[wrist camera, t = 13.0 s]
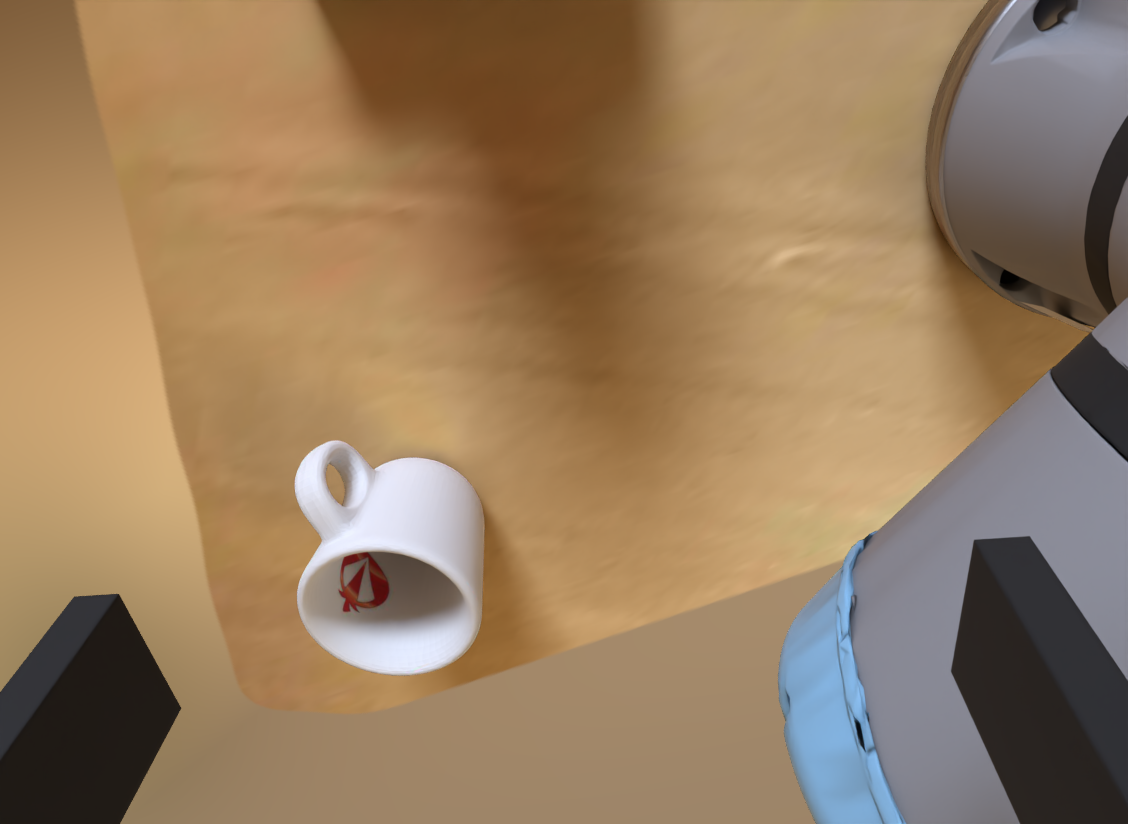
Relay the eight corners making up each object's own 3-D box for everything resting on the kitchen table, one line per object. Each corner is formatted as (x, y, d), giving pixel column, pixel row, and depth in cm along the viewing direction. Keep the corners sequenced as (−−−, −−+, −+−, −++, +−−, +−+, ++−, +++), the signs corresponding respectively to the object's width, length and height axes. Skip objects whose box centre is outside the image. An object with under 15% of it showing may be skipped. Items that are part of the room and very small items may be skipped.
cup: (274, 436, 40) (208, 544, 33) (405, 364, 38) (362, 465, 31) (406, 579, 45) (372, 699, 38) (529, 523, 42) (515, 641, 36)
